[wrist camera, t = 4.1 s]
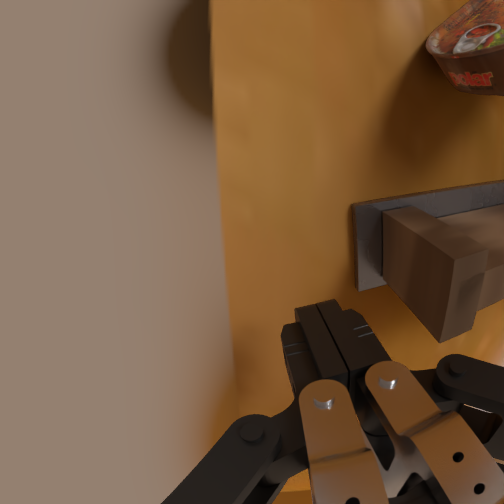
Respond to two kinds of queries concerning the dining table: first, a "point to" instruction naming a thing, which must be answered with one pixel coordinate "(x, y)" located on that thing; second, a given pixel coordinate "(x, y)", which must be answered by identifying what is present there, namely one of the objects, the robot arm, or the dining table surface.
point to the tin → (472, 47)
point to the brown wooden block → (445, 265)
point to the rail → (431, 202)
